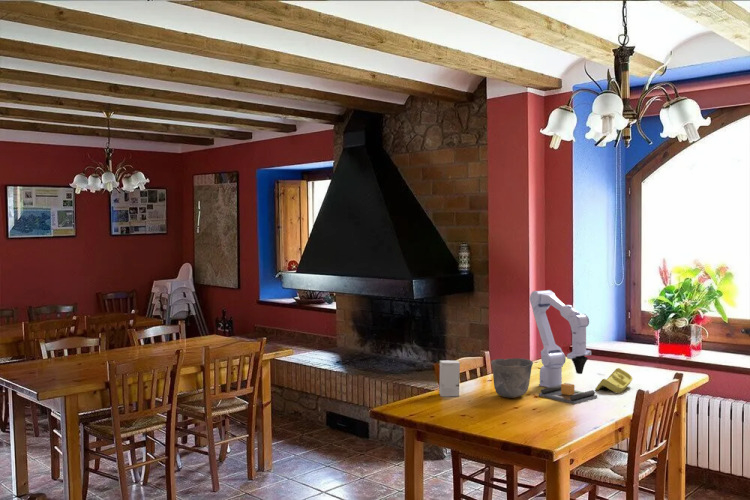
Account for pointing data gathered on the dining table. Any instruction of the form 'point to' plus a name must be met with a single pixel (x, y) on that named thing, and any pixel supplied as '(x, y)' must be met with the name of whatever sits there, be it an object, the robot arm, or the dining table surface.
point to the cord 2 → (582, 395)
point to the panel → (566, 396)
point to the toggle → (567, 389)
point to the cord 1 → (551, 389)
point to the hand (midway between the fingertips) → (579, 373)
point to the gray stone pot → (511, 376)
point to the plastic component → (616, 381)
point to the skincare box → (449, 378)
